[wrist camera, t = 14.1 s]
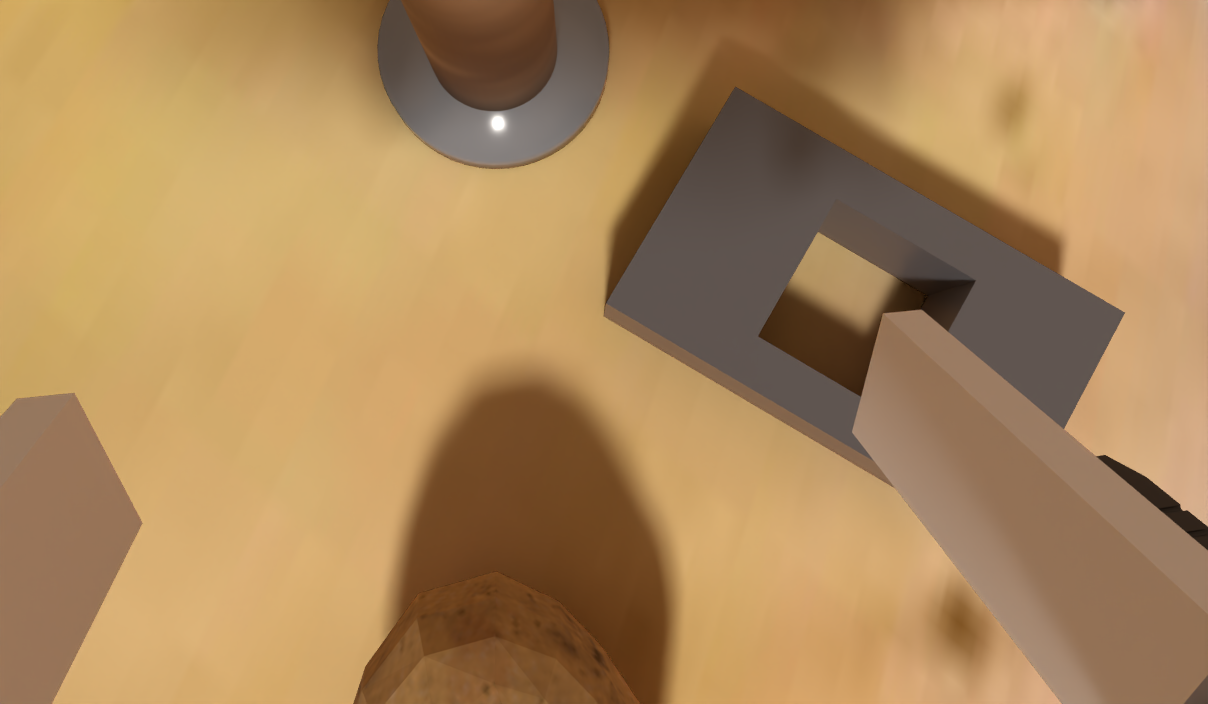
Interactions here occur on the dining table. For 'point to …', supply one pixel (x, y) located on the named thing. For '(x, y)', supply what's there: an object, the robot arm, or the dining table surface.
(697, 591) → the dining table surface
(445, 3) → the plug
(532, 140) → the coaster
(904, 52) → the dining table surface
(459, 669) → the potato
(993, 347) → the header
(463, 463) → the dining table surface
